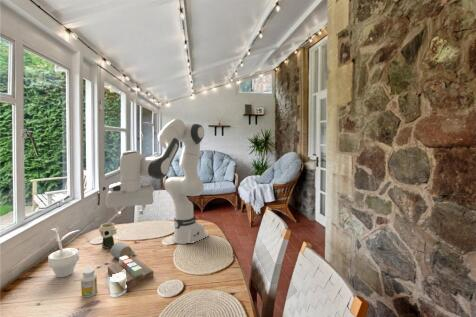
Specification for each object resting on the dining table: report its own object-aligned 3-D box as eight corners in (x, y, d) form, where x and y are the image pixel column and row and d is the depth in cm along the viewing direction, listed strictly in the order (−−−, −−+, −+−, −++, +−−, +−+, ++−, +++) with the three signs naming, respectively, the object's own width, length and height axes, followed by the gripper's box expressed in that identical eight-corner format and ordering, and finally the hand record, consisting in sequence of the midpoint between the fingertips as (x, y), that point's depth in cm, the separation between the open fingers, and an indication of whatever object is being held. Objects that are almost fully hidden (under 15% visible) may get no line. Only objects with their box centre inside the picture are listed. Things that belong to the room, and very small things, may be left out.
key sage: (138, 272, 113) (138, 265, 113) (142, 275, 111) (141, 268, 110) (131, 275, 111) (130, 268, 110) (134, 278, 108) (134, 270, 108)
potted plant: (46, 284, 108) (43, 227, 106) (51, 271, 118) (49, 219, 116) (81, 276, 113) (78, 222, 111) (83, 265, 124) (81, 215, 122)
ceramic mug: (120, 263, 126) (120, 248, 125) (110, 259, 130) (110, 244, 129) (138, 255, 135) (138, 241, 135) (128, 251, 139) (128, 238, 139)
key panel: (135, 262, 127) (135, 256, 126) (153, 277, 114) (153, 271, 113) (107, 272, 117) (107, 266, 117) (124, 289, 104) (124, 282, 104)
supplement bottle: (90, 288, 105) (90, 266, 104) (100, 291, 103) (99, 268, 102) (78, 295, 100) (77, 272, 99) (87, 299, 98) (86, 275, 97)
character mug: (95, 248, 142) (94, 226, 141) (104, 243, 149) (103, 221, 148) (112, 250, 140) (111, 227, 139) (120, 245, 147) (120, 223, 146)
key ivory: (126, 261, 122) (126, 255, 122) (129, 264, 120) (129, 257, 120) (119, 264, 120) (118, 257, 120) (121, 266, 118) (121, 260, 117)
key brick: (130, 264, 119) (130, 258, 119) (133, 267, 117) (133, 260, 117) (122, 267, 117) (122, 260, 117) (125, 270, 114) (125, 263, 114)
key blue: (134, 268, 116) (134, 261, 116) (137, 271, 114) (137, 264, 113) (126, 271, 114) (126, 264, 113) (130, 274, 111) (129, 267, 111)
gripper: (152, 183, 123) (152, 211, 124) (105, 185, 113) (105, 216, 114) (155, 185, 118) (154, 214, 119) (105, 188, 108) (106, 219, 109)
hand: (130, 215), depth 116 cm, fingers open, 8 cm apart
